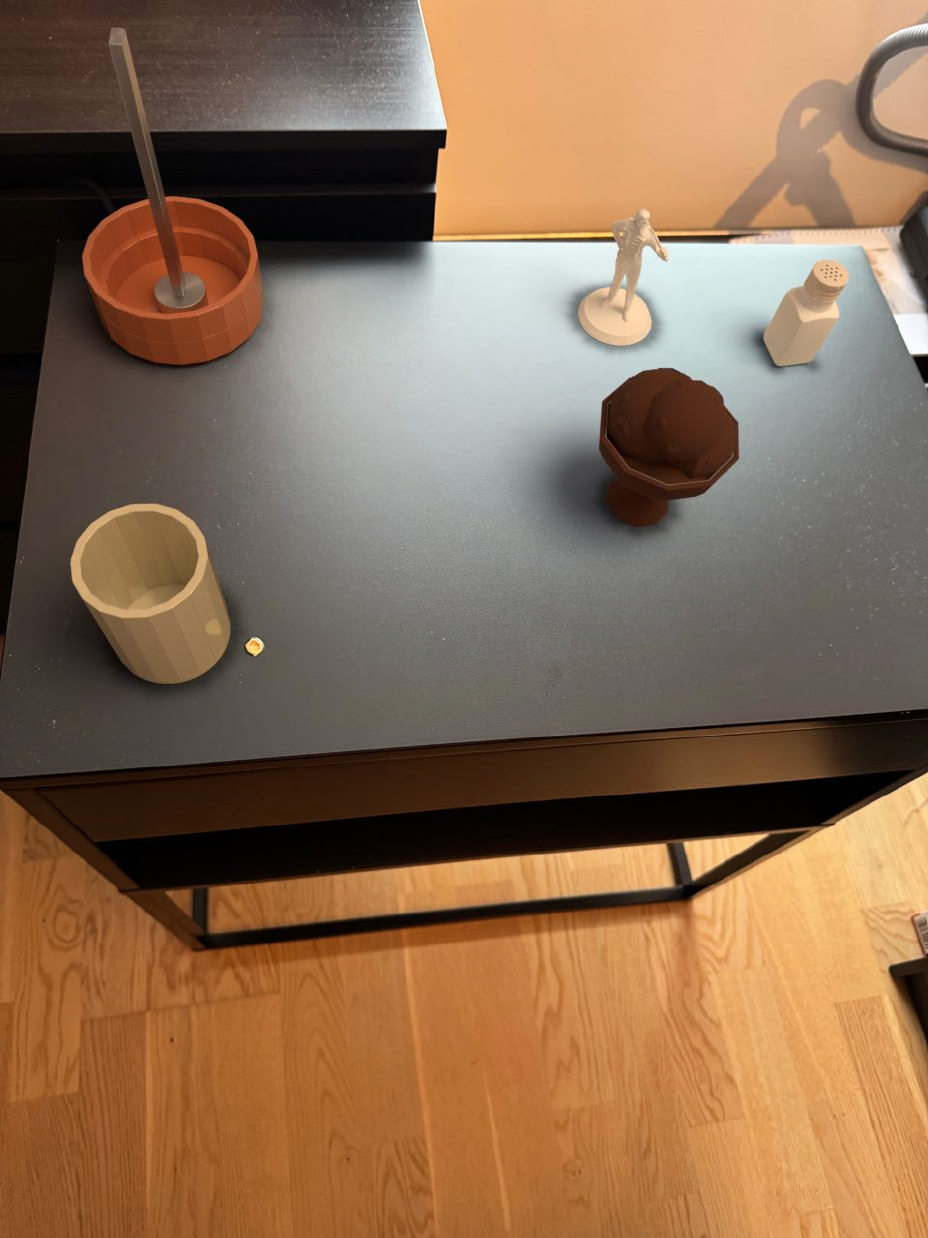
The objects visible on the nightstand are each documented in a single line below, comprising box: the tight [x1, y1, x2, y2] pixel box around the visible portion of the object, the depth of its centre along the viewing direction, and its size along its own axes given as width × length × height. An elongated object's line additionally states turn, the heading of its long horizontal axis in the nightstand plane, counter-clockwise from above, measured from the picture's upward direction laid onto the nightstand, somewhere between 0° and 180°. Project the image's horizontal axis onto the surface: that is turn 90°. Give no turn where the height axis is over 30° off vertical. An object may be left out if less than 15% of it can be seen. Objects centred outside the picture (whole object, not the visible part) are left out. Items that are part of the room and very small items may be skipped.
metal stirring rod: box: [108, 27, 208, 314], centre depth 71 cm, size 4×4×24 cm
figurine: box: [577, 208, 669, 347], centre depth 81 cm, size 7×7×12 cm
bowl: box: [81, 195, 265, 366], centre depth 79 cm, size 14×14×6 cm
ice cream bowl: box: [598, 367, 740, 528], centre depth 70 cm, size 11×11×15 cm
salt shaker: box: [763, 259, 850, 367], centre depth 82 cm, size 4×4×10 cm
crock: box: [69, 503, 232, 685], centre depth 63 cm, size 8×8×11 cm
